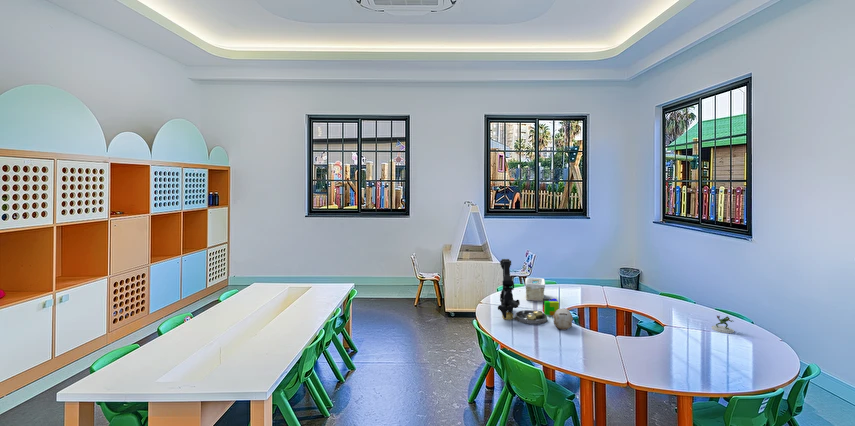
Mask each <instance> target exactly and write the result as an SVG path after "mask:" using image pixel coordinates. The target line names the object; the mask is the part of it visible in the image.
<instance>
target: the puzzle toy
mask: <svg viewBox="0 0 855 426" xmlns="http://www.w3.org/2000/svg"><path fill="white" fill-rule="evenodd" d="M558 309H560V302H559V301H558V299H557V298H545V297H544V298H543V301H542V313H544V314H546V316H553V315H554V314H555V312H556V310H558Z"/></svg>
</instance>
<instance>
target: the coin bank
mask: <svg viewBox="0 0 855 426" xmlns="http://www.w3.org/2000/svg"><path fill="white" fill-rule="evenodd" d="M552 318H553V324H554V325H555V326H556V328H557V329H558V330H562V331H565V330H568V329H570V328H572V327H573V320H574V318H573V315H572V313H571V311H570V310H569V309H567V308H559V309H558V310H556V312H555V314H554V315H552Z"/></svg>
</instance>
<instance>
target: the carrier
mask: <svg viewBox="0 0 855 426" xmlns="http://www.w3.org/2000/svg"><path fill="white" fill-rule="evenodd" d="M514 316H515V317H514V318H515V321H517V322H519V323H521V324H525V325H542V324H545V323H546V322H547V320H548V317H547V316H548V315H546V314H544V312H543V310H542V311H541V310H532V309H531V310H529V309H524V310H518V311H517V312H515V313H514Z"/></svg>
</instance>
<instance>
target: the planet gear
mask: <svg viewBox="0 0 855 426" xmlns="http://www.w3.org/2000/svg"><path fill="white" fill-rule="evenodd" d="M501 315H502V316H501V317H502V319H503V320H506V321H508V320H509V321H510V320H513V319H514V313H513V312H512V313H510V312H508V311H507V313H506V318H504V316H503V314H502V313H501Z"/></svg>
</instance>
